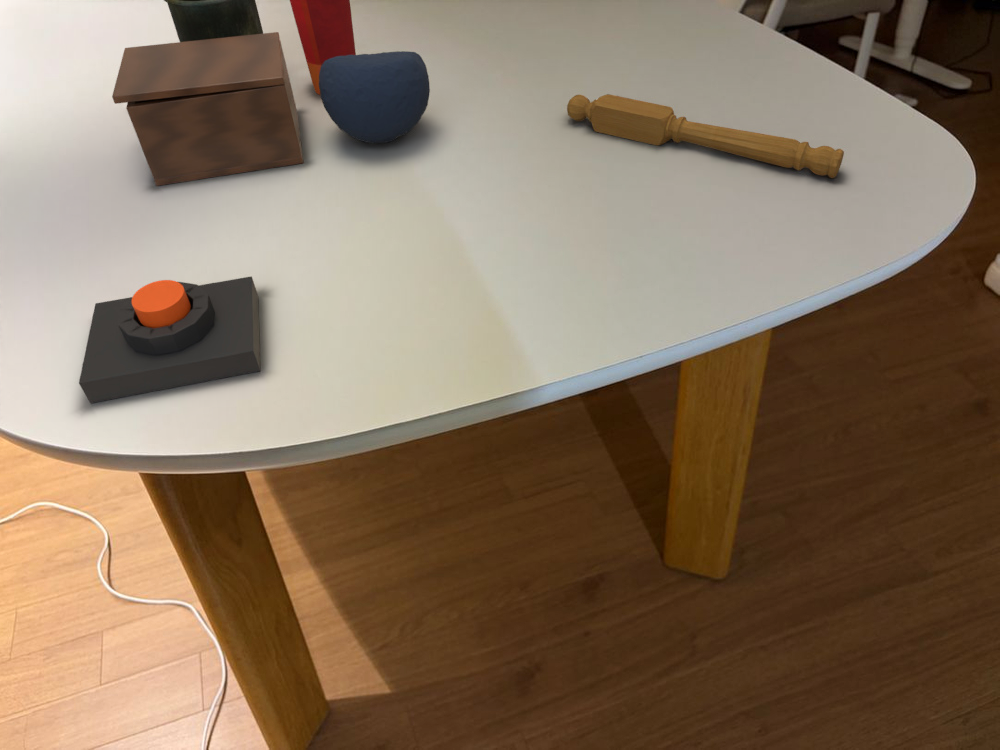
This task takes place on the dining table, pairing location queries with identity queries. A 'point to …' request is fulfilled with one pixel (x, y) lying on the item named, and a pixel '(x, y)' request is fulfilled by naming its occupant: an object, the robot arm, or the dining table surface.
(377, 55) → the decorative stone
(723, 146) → the wooden table leg
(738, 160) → the dining table surface
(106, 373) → the switch block
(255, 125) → the box
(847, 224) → the dining table surface
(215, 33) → the mug
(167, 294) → the button
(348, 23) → the red tall block
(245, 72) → the box lid
